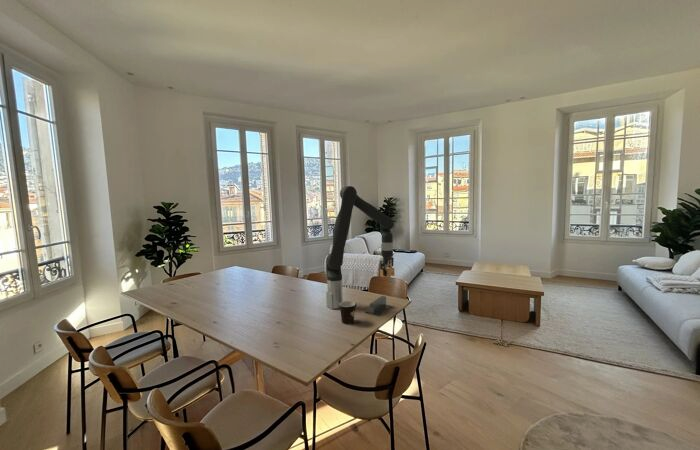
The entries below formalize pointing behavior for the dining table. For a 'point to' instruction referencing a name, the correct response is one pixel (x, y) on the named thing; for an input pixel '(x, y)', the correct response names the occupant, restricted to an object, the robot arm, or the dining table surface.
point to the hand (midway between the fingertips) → (387, 274)
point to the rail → (378, 306)
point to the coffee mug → (347, 312)
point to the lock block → (388, 272)
